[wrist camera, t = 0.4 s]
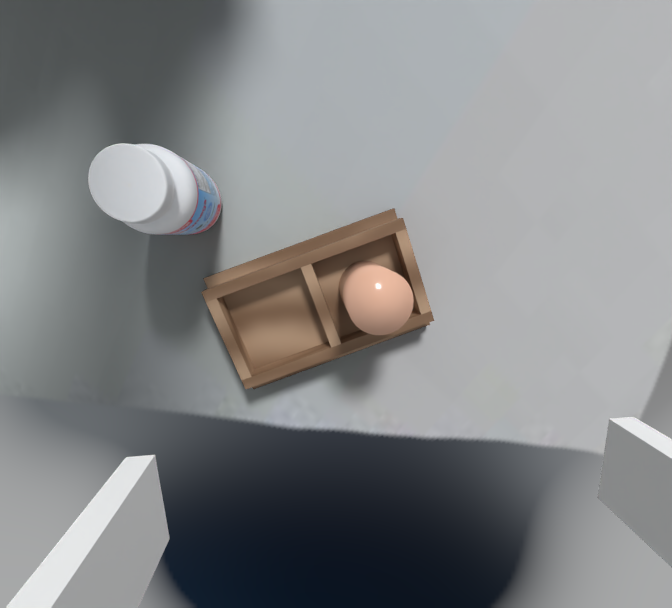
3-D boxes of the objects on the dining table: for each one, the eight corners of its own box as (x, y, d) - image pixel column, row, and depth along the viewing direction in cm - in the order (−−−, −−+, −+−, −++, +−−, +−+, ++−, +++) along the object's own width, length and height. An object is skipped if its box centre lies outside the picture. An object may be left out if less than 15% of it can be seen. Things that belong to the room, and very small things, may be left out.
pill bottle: (183, 246, 33) (119, 254, 22) (141, 188, 31) (50, 166, 20) (237, 211, 32) (199, 201, 21) (196, 151, 31) (134, 108, 20)
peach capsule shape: (331, 271, 33) (337, 283, 25) (380, 253, 33) (402, 259, 25) (348, 318, 34) (359, 344, 26) (396, 301, 34) (421, 321, 26)
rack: (206, 277, 33) (196, 281, 30) (391, 209, 33) (399, 206, 30) (254, 384, 36) (249, 398, 33) (426, 322, 36) (437, 330, 33)
